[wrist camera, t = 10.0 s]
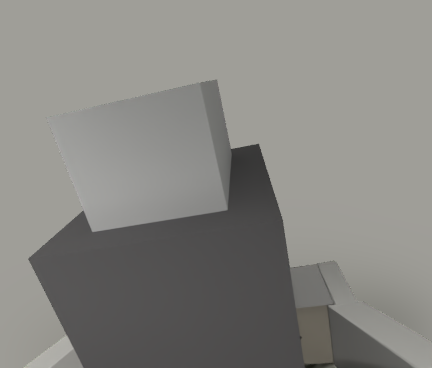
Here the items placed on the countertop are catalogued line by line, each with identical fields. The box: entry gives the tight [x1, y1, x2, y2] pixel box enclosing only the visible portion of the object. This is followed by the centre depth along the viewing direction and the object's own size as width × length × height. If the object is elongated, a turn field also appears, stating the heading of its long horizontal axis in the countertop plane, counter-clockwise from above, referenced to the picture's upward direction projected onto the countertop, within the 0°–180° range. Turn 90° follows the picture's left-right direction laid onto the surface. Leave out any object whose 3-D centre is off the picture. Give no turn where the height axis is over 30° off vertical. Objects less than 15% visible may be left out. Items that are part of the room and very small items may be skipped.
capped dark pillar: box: [29, 80, 305, 368], centre depth 8 cm, size 4×5×13 cm
